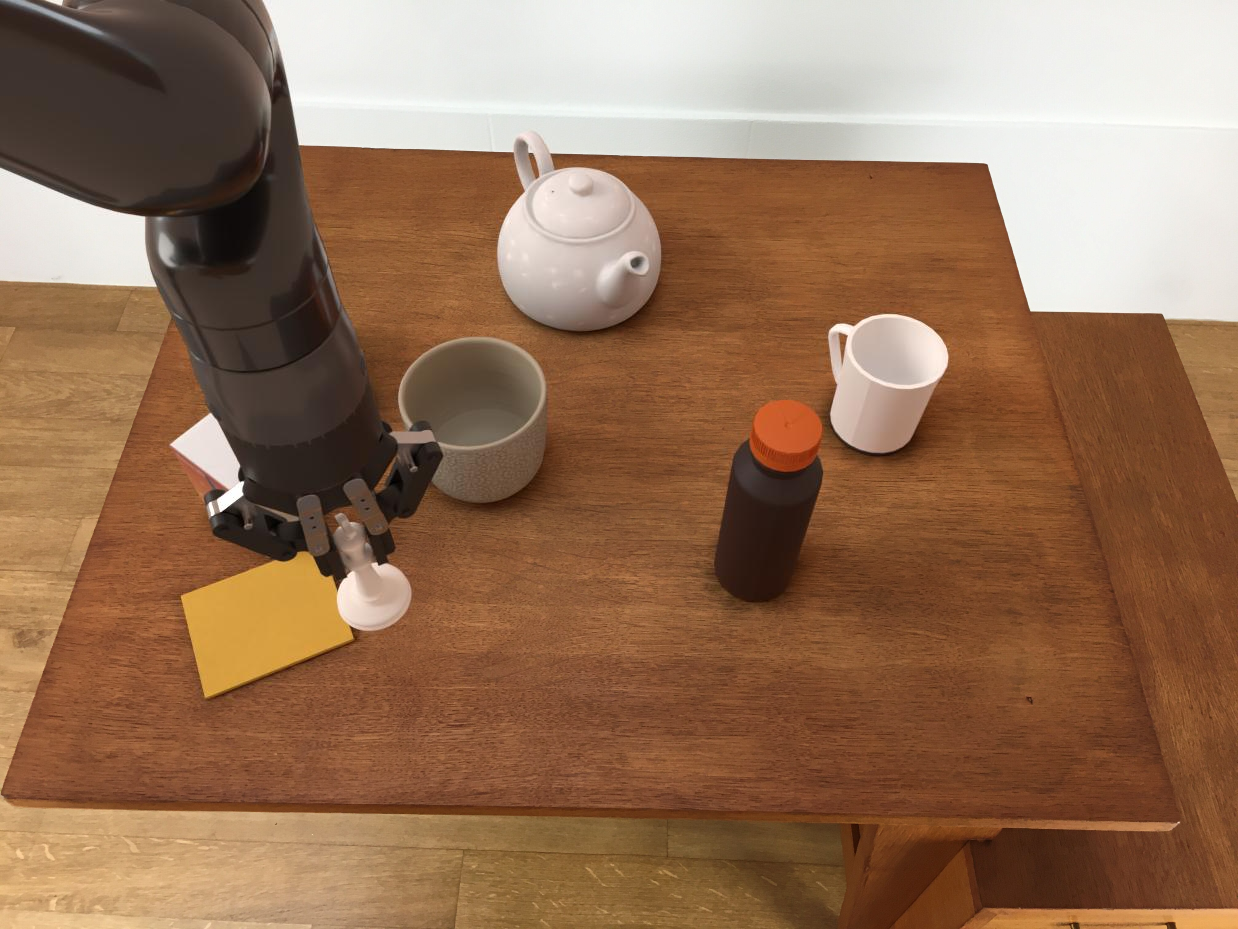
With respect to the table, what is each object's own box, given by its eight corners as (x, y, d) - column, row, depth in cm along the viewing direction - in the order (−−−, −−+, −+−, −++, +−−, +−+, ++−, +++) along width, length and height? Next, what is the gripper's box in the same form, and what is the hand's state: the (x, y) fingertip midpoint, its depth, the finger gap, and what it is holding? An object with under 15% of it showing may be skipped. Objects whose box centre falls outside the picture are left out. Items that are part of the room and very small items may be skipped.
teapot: (681, 238, 108) (690, 133, 97) (643, 357, 98) (648, 254, 87) (522, 210, 111) (513, 104, 100) (468, 322, 100) (451, 218, 89)
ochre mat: (206, 700, 76) (204, 698, 76) (182, 597, 81) (180, 595, 81) (354, 640, 79) (353, 638, 79) (322, 545, 84) (321, 543, 84)
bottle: (728, 525, 86) (756, 377, 70) (801, 550, 85) (848, 405, 68) (702, 587, 82) (726, 446, 66) (778, 614, 81) (822, 477, 65)
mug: (934, 418, 93) (966, 345, 85) (887, 476, 89) (916, 405, 81) (837, 364, 97) (859, 289, 89) (789, 416, 93) (806, 343, 85)
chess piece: (361, 645, 63) (325, 569, 55) (324, 593, 65) (285, 512, 57) (425, 603, 65) (400, 523, 57) (387, 553, 67) (358, 470, 59)
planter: (410, 427, 92) (389, 349, 83) (537, 403, 94) (530, 325, 85) (428, 534, 85) (407, 462, 76) (565, 506, 87) (560, 433, 78)
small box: (209, 514, 86) (165, 443, 78) (258, 473, 89) (221, 400, 80) (269, 561, 83) (231, 493, 75) (318, 518, 86) (286, 447, 77)
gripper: (401, 291, 51) (443, 480, 65) (129, 371, 47) (236, 553, 61) (448, 390, 47) (482, 568, 61) (155, 486, 43) (263, 652, 57)
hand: (358, 560), depth 61 cm, fingers closed on chess piece
